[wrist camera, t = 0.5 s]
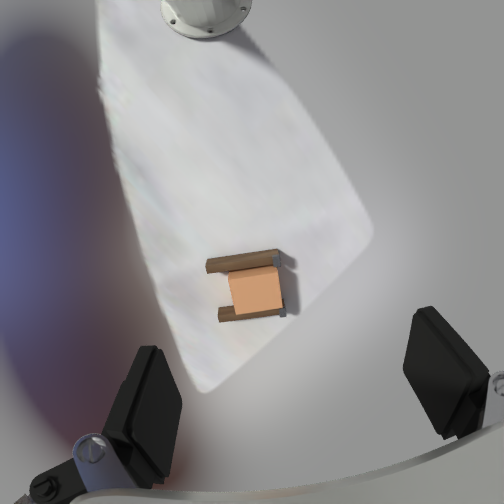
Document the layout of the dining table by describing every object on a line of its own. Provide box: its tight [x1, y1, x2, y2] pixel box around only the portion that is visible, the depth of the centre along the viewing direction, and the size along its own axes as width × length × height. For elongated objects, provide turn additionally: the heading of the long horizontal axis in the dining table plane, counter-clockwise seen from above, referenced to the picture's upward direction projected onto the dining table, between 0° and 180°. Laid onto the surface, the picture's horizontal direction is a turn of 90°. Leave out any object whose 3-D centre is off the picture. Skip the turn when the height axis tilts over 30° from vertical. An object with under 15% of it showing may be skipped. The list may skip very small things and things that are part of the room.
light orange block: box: [228, 264, 283, 315], centre depth 45 cm, size 6×7×4 cm
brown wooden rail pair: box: [205, 249, 286, 322], centre depth 45 cm, size 10×10×3 cm
